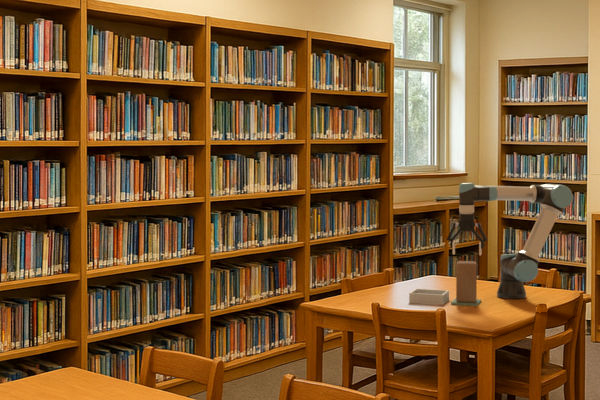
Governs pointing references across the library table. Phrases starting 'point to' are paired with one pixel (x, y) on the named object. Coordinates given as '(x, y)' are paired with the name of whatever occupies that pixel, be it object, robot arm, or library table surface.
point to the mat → (466, 303)
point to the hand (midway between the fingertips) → (467, 254)
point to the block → (466, 281)
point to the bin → (429, 296)
